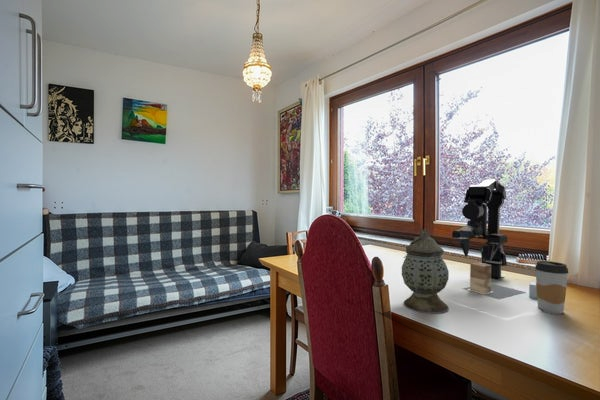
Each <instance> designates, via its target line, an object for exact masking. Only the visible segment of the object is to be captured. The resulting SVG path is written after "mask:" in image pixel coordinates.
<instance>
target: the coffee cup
mask: <svg viewBox="0 0 600 400" xmlns="http://www.w3.org/2000/svg"><path fill="white" fill-rule="evenodd" d="M534 266H535V267H534V269H535V282H536V289H537V298H536V300H537V307H538V309H540V310H541V311H542V312H546V313H549V314H554V315H555V314H556V315H561V314H563V312H565V303H566V297H567V296H566V295H567V294H566V293H567V283H568V281H567V280H568V274H569V268H568V267H567V264H566V263H561V262H557V261H548V260H547V261H546V260H537V261H536V264H535V265H534Z"/></svg>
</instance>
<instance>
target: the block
mask: <svg viewBox="0 0 600 400" xmlns="http://www.w3.org/2000/svg"><path fill="white" fill-rule="evenodd" d="M528 285H529V288H528V289H529V291H528V292H529V293H528V297H529V298H534V299H537V289H536V281H532V282H530V283H529V284H528Z"/></svg>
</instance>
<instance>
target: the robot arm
mask: <svg viewBox="0 0 600 400" xmlns="http://www.w3.org/2000/svg"><path fill="white" fill-rule="evenodd" d="M506 199H507V191H506V188H505V186H504V185H502V184H500V183H499V181H498V179H485V180H483V181H482V182H481V183H479V184H478V185H477V184H476V185H469V186H468V188H466V193H465V196H464V200H463V201H464V202H463V203H465V205H464V206H463V207H462V210H461V213H462V216H463V217H464V218H465V219H466V220H467V222H466V223H467V224H466V225H464V226H462V227H461V228H460V229H453V231H452V232H451V238H454V240H456V241H457V242H458V243H459V245H460V246H461V249H462V252H463V254H464V257H465V258H466V257H468V256H469V250H470V241H471V240H472V239H480V240H487V241H486V242H485V244H484V245H483V246H482V249H481V252H480V253H481V254H480V257H481V263H483V264H489V265H491V280H492V279H493V280H502V279H505V278H506V277H505V276H502V267H507V266H508V265H507V263H508V262H507V255H506V253H505V252H504V247H503V245H504V244H505V243H508V237H507V234H501V233H500V224H501V223H500V219H501V218H500V214H501V208H502V206H503V205H504V204H505V200H506Z"/></svg>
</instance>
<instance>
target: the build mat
mask: <svg viewBox="0 0 600 400" xmlns="http://www.w3.org/2000/svg"><path fill="white" fill-rule="evenodd" d="M461 289H462V290H465V291H468V292H472V293H475V294H479V295H483V296H486V297H490V298H493V299H496V300H501V299H506V298H510V297H514V296H518V295H522V294H526V293H527V292H526V291H522V290H520V289H519V290H518V289H515V288H511V287H508V286H507V287H506V286H503V285H498V284H495V283H491V292H487V293H480V292H476V291H472V290H470V286H467V287H464V288H461Z"/></svg>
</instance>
